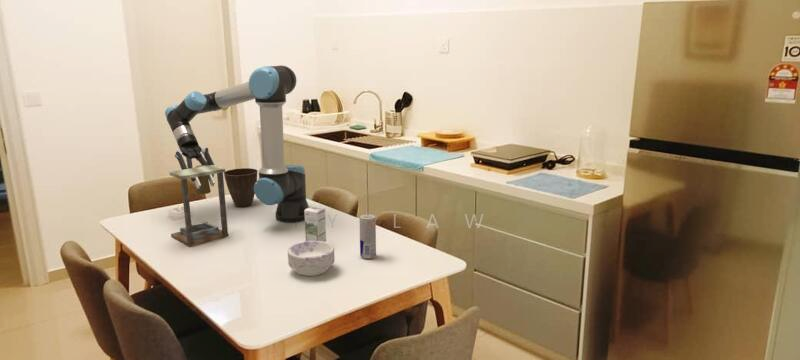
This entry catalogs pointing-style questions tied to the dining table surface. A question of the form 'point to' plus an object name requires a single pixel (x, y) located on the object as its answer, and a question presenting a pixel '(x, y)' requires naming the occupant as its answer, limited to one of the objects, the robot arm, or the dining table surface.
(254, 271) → the dining table surface
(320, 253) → the paper bowls
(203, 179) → the cork
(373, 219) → the beverage can
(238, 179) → the plant pot
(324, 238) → the syrup box
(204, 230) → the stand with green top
